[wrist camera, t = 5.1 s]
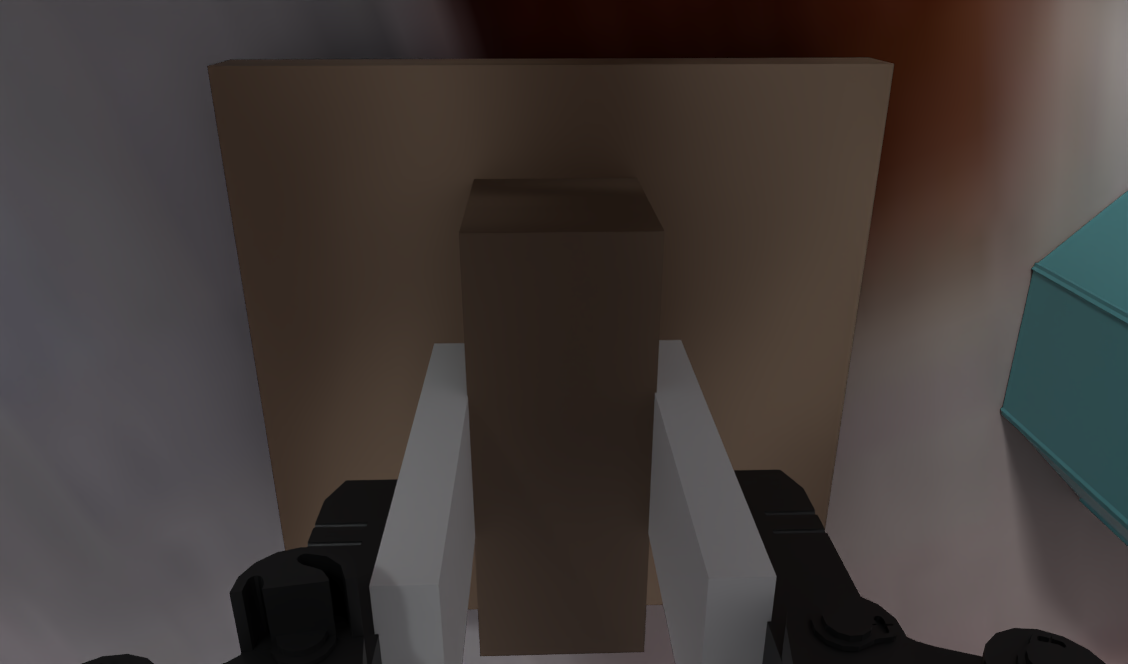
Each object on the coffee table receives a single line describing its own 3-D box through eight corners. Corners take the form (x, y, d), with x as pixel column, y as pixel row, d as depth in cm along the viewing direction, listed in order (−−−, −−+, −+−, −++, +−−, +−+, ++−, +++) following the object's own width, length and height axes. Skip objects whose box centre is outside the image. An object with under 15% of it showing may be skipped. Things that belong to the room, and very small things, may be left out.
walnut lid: (308, 578, 20) (247, 743, 16) (230, 59, 16) (113, 92, 11) (799, 567, 21) (870, 724, 16) (869, 57, 16) (994, 88, 12)
